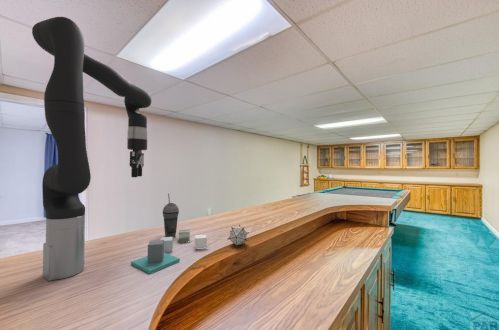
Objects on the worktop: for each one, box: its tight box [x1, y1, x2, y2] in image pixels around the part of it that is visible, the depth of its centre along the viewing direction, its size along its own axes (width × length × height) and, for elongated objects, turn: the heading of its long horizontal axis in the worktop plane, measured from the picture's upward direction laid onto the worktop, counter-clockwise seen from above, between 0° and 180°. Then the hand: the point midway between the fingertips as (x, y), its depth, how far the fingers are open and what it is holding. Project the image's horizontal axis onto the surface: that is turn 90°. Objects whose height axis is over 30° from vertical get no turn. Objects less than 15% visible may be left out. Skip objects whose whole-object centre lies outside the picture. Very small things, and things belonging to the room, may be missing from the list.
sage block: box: [178, 228, 191, 243], centre depth 98 cm, size 4×4×4 cm
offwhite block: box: [194, 234, 208, 250], centre depth 90 cm, size 4×4×4 cm
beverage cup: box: [162, 193, 180, 239], centre depth 103 cm, size 7×7×20 cm
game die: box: [227, 224, 250, 248], centre depth 93 cm, size 9×8×10 cm
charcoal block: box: [147, 239, 164, 264], centre depth 75 cm, size 4×4×6 cm
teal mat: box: [130, 252, 181, 275], centre depth 75 cm, size 11×11×1 cm
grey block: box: [159, 236, 174, 253], centre depth 86 cm, size 4×4×4 cm
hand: (137, 176), depth 94 cm, fingers open, 8 cm apart
